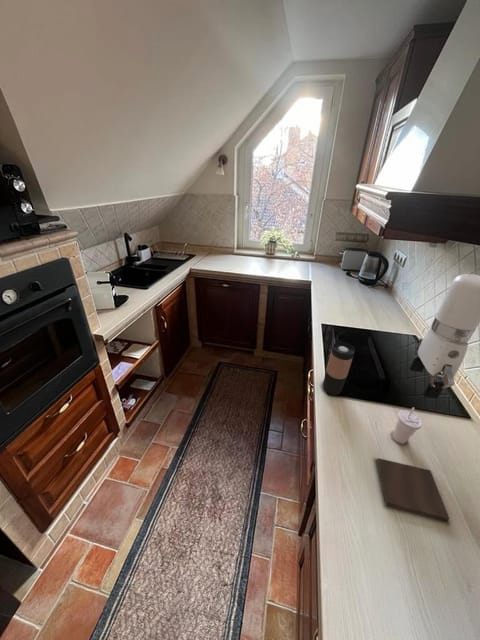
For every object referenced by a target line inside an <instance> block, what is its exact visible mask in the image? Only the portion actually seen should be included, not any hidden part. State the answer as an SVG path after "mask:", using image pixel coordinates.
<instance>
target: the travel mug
mask: <svg viewBox="0 0 480 640" xmlns="http://www.w3.org/2000/svg"><path fill="white" fill-rule="evenodd" d="M354 355H355V347H353V345H352V344H350V343H347V342H344V341H336V342H334V343H333V344H332V347H331V351H330V355H329V357H328V361H327V365H326V369H325V373H324V377H323V383H322V389H323V391H324V392H325V393H326V394H329V395H331V396H338V395H340V394H341V393H342V391H343V388H344V385H345V383H346V380H347V377H348V375H349V371H350V368H351V365H352V362H353V358H354Z"/></svg>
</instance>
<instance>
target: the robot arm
mask: <svg viewBox="0 0 480 640" xmlns="http://www.w3.org/2000/svg"><path fill="white" fill-rule="evenodd" d="M479 324H480V275H478V274H473V273H462V274H460V275H457V276H456V277H455V278H454V279H453V280H452V282H451V284H450V286H449V288H448V290H447V292H446V294H445V296H444V298H443V300H442V302H441V304H440V306H439V308H438V310H437V313H436V315H435V316H434V318H433V321H432V322H431V325H430V326H429V329H428V330H427V332H426V334H425V335H424V337H423V338H419V340H418V344H417V347H416V353H414V358H413V360H412V362H411V364H410V366H409V370H410V371H412V372H418V373H423V372H424V370H425V369H426V371H427V372H428V374H429V375H430V382H429V383H427V385H426V387H425V389H423V392H422V397H425V398H430V399H438V398H439V397H440V395H441V393H442V392H443V390H446V389H450V387H454V385H455V378H454V377H455V376H456V374H457V373H458V371H459V369H460V367H461V365H462V363H463V361H464V360H465V359H464V358H465V356H466V354H467V351H468V348H469V341H470V340H471V338H472V336H473V335H474V333H475V331H476V330H477V329H478V327H479ZM440 372H441V374H440ZM438 377H439V378H441V379H440V381H437V378H438Z"/></svg>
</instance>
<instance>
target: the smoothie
mask: <svg viewBox="0 0 480 640" xmlns="http://www.w3.org/2000/svg"><path fill="white" fill-rule="evenodd" d="M414 411H415V407H413V406H412V408H411V409H410V410H405V409H403V410H400V411H399V412H398V414H397V420H396V423H395V427H394V430H393V433H392V438H393V439H394V441H395V442H397V443H399V444H402V445H403V444H406V442H407V441H408V440H409V439H410V438H411V437H412V436H413V435H414V434H415V433H416V432H417V431H419V430H421V428H422V426H423V420H422V419H421V418H420V416H418V415H417V414H416V413H414Z"/></svg>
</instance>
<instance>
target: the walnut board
mask: <svg viewBox="0 0 480 640" xmlns="http://www.w3.org/2000/svg"><path fill="white" fill-rule="evenodd" d="M375 463H376V467H377V472H378V476H379V480H380V484H381V490H382V495H383V499H384V503H385V506H387V507H389V508H390V507H391V508H395V509H398V510H402V511H405V512H409V513H413V514H417V515H420V516H425V517H428V518H433V519H436V520H440V521H443V522H448V521H449V520H450V517H449V513H448V511H447V509H446V506H445V504H444V501H443V499H442V496H441V494H440V492H439V489H438V486H437V484H436V481H435V478H434V476H433V473H432V471H431V470H430V469H427V468H422V467H417V466H413V465H410V464H405V463H400V462H397V461H392V460H387V459H383V458H380V457H377V458H376V460H375Z"/></svg>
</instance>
